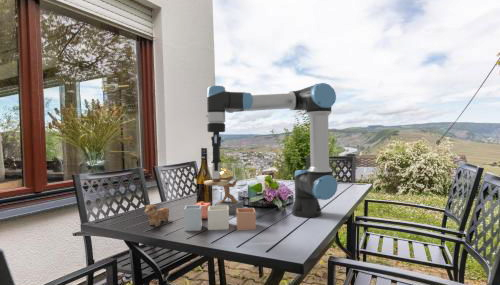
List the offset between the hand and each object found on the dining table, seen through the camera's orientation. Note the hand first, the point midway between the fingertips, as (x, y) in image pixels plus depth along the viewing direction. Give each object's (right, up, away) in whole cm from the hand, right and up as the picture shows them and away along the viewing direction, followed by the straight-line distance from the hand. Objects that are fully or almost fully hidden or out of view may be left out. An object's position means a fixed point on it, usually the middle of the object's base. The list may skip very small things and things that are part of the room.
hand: (216, 177), depth 128 cm
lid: (0, -2, 0) cm, 2 cm away
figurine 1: (-29, -24, +14) cm, 40 cm away
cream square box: (0, -23, +6) cm, 24 cm away
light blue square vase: (-11, -23, +4) cm, 26 cm away
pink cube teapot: (-9, -23, +23) cm, 34 cm away
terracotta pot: (+12, -23, +5) cm, 26 cm away
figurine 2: (+3, -23, +32) cm, 39 cm away
